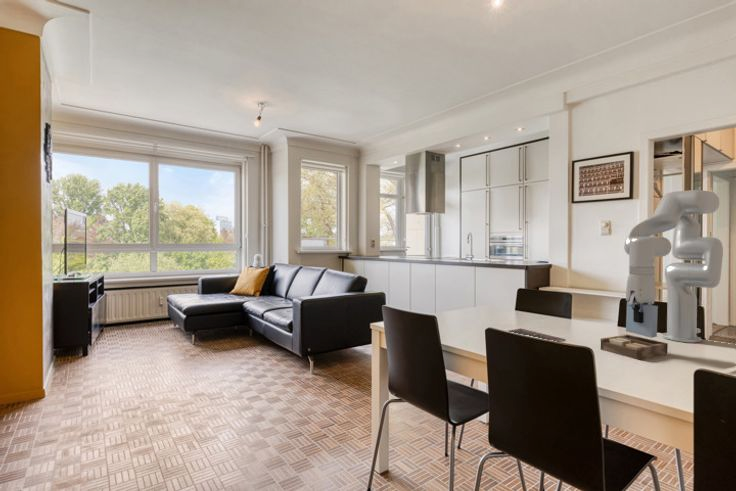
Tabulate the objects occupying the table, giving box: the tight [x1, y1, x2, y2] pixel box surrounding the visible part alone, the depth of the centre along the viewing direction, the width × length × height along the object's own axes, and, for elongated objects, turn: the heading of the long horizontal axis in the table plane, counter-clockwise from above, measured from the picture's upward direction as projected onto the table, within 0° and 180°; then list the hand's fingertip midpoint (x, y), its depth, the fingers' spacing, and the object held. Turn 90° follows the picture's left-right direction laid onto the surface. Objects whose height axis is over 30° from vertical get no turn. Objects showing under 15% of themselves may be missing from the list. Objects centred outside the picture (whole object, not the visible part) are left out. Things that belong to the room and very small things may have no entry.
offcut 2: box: [626, 343, 646, 350], centre depth 137 cm, size 5×5×4 cm
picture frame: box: [508, 328, 566, 343], centre depth 162 cm, size 16×2×22 cm
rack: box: [600, 334, 668, 361], centre depth 141 cm, size 15×14×5 cm
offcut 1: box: [609, 338, 631, 347], centre depth 142 cm, size 5×5×4 cm
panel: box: [625, 301, 659, 339], centre depth 142 cm, size 3×9×11 cm, turn 23°
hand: (641, 321), depth 142 cm, fingers closed on panel, 2 cm apart
